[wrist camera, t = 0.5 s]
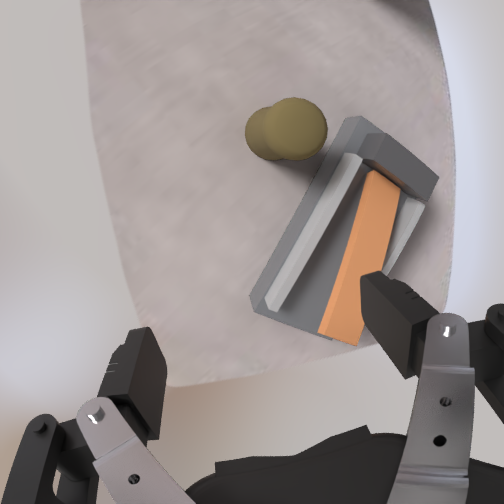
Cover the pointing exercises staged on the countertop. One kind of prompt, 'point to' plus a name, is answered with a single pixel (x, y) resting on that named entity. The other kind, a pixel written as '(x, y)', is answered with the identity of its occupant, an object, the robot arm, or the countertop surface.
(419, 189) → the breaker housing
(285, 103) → the olive pawn figure
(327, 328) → the lever
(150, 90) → the countertop surface
